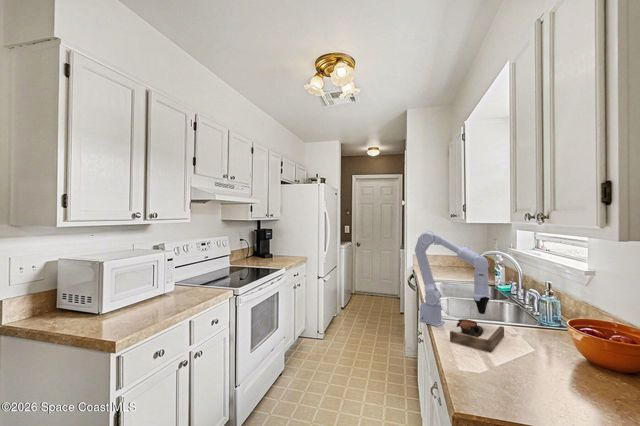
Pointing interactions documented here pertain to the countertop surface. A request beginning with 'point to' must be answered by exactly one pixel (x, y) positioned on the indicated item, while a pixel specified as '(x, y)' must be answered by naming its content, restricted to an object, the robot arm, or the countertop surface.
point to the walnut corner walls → (478, 340)
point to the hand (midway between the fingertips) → (481, 313)
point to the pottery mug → (470, 327)
